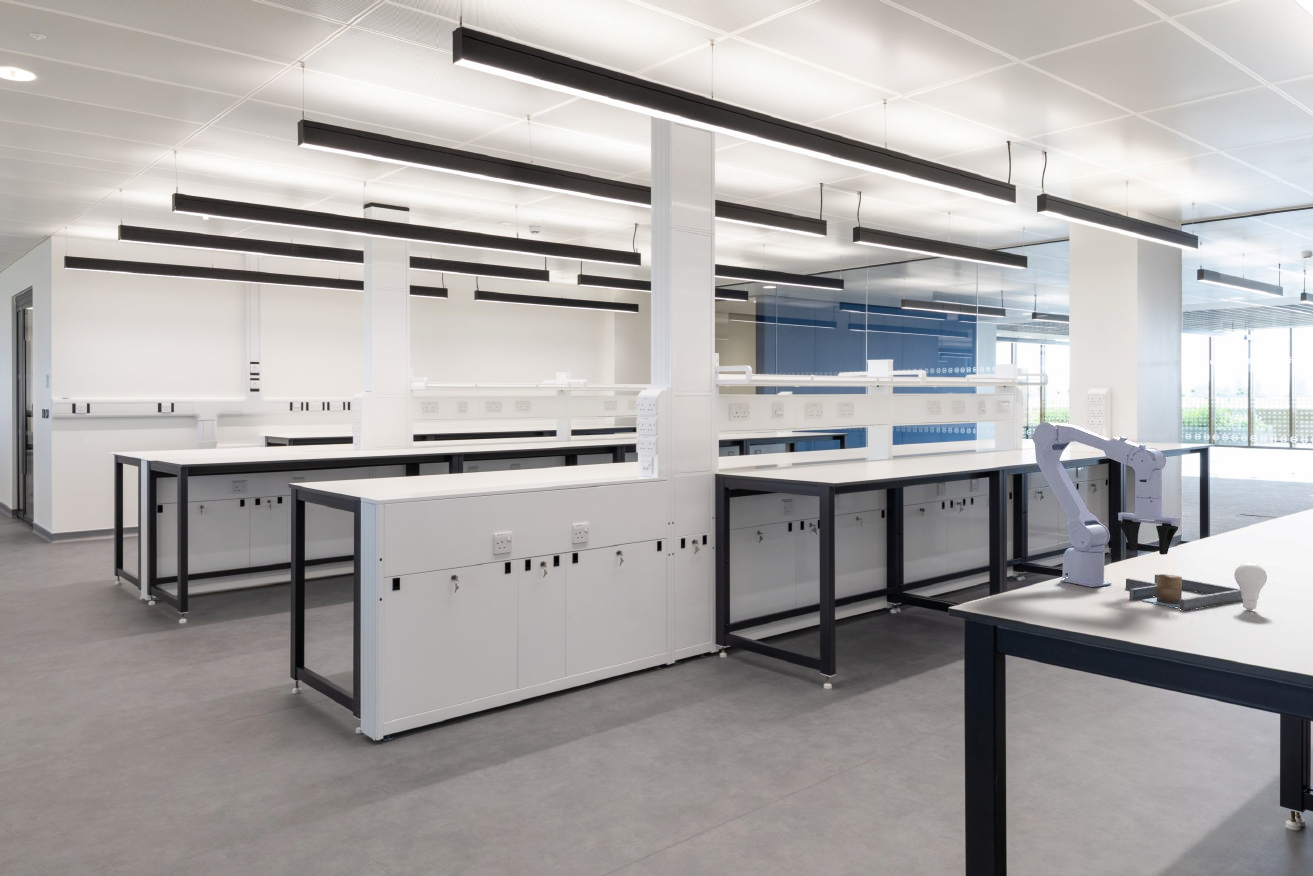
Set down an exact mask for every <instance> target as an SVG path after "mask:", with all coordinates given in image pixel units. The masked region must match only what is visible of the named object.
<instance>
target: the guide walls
mask: <svg viewBox="0 0 1313 876" xmlns="http://www.w3.org/2000/svg"><path fill="white" fill-rule="evenodd" d="M1157 575H1159V574H1154V582H1150V581H1144V580H1139V579H1134V578H1130V577H1129V578H1125V589H1127V588H1128V589H1127V590H1129V593H1128V594H1129V597H1128V598H1129V600H1131V601H1137V599H1138V600H1144V599H1150V597H1151V598H1154V597H1153V596H1157ZM1183 589H1187V590H1186V591H1188V590H1191V591H1190V592H1194V591H1197V592H1196V593H1199V592H1203V593H1202V594H1203V595H1197V596H1192V597H1185V598H1181V599H1180V607H1179V610H1180V609H1181V610H1180V611H1182V610H1186V611H1190V610H1189V609H1192V610H1196V608H1198V609H1202V607H1204V608H1208V607H1207V606H1209V607H1214V605H1215V606H1220V604H1221V605H1226V604H1230V603H1231V604H1232V603H1237V601H1238V602H1243V598H1242V595H1241V590H1240V588H1235V587H1230V586H1226V585H1219V584H1214V583H1213V584H1212V583H1208V582H1202V581H1198V580H1190V579H1185V578H1182V590H1183ZM1204 593H1208V594H1204ZM1143 598H1144V599H1143Z"/></svg>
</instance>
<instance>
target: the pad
mask: <svg viewBox="0 0 1313 876" xmlns="http://www.w3.org/2000/svg"><path fill="white" fill-rule="evenodd" d="M1144 601H1146V602H1145V603H1149V602H1150V604H1153V603H1156V604H1155V605H1158V604H1161V605H1160V606H1163V605H1166V606H1165V607H1168V606H1171V607H1170V608H1173V607H1179V608H1180V604H1168V603H1162V602H1158V601H1157V597H1151V598H1144V599H1141V602H1144Z"/></svg>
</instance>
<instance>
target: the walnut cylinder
mask: <svg viewBox="0 0 1313 876" xmlns="http://www.w3.org/2000/svg"><path fill="white" fill-rule="evenodd" d="M1182 579H1183V577H1182V576H1180V575H1174V574H1163V573H1161V574H1158V575H1157V597H1156V598H1157V601H1158V602H1162V603H1168V604H1180V599H1183V598H1182V594H1183V593H1182V591H1183V589H1182Z"/></svg>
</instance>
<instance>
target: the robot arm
mask: <svg viewBox="0 0 1313 876" xmlns="http://www.w3.org/2000/svg"><path fill="white" fill-rule="evenodd" d="M1031 440H1032V441H1033V443H1034V449H1035V450H1034V451H1035V453H1034V454H1035V461H1036V464H1037V466H1038V467H1039V469H1040V471H1041V474H1043V476H1044V478H1045V480H1046V482H1047V484H1048V485H1049V488H1050V489H1051V491H1052V493H1053V494H1054V496H1055V499H1056V500H1057V502H1058V504H1059V506H1060V507H1061V509H1062V511H1063V512H1064V514H1065V515H1064V516H1066V518H1067V522H1066V525H1065V528H1066V529H1067V532H1068V538H1069V543H1070V544H1071V545H1072V546H1073V547H1068V548H1067V549H1066V550H1065V551H1064V552H1063V555H1062V579H1063V578H1065V579H1064V580H1061V579H1060V581H1061V582H1067V583H1070V584H1075V585H1079V586H1084V587H1091V588H1096V587H1102V586H1103V587H1104V586H1110V585H1112V582H1110V581H1105V556H1106V555H1105V553H1106V551H1105V550H1106V545H1108V543H1109V541H1110V538H1111V534H1110V531H1109V529H1108V528H1107V526H1105V525H1104V524H1102V522H1100V520H1099V519H1098V517H1097V516H1096V515H1094V513H1092V512H1090V511H1089V510H1088V508H1087V506H1086V504H1085V502H1084V501H1083V499H1082V497H1081V495H1080V494H1079V492H1078V490H1077V489H1076V487H1075V485H1074V483H1073V482H1072V479H1071V478H1070V476H1069V474H1068V472H1067V470H1066V469H1065V467H1064V465H1063V464H1062V462H1061V456H1062V455H1063V452H1064V451H1065V450H1066V448H1067V447H1068V446H1069V445H1070V443H1071V442H1072V443H1073V442H1076V443H1080V444H1083V445H1086V446H1088V447H1092V448H1094V449H1098V450H1100V451H1103V453H1104V454H1105V456H1106V458H1108V459H1111V460H1113V461H1116V462H1118V463H1120V464H1124V465H1126V466H1128V467H1131V468H1132V469H1133V470H1134V472H1135V473H1134V477H1135V478H1134V483H1135V484H1134V487H1135V489H1134V490H1135V491H1134V496H1135V497H1134V513H1133V512H1123V511H1122V512H1118V513H1117V515H1118V521H1121V522H1119V527H1120V528H1121V530H1122V531H1123V533H1124V536H1125V538H1126V541H1127V544H1128V549H1129V551H1138V546H1139V532H1140V527H1141V524H1142V523H1146V524H1156V526H1155V528H1156V531H1157V537H1158V550H1159V551H1158V552H1159V555H1167V554H1168V552H1169V549H1170V545H1171V543H1172V541H1173V539H1174V536H1175V535H1176V533H1177V531H1178V530H1179V526H1181V518H1180V517H1176V516H1169V515H1162V514H1163V513H1162V511H1163V509H1162V508H1163V507H1162V505H1163V501H1162V500H1163V499H1162V498H1163V491H1162V490H1163V488H1162V487H1163V486H1162V485H1163V479H1162V478H1163V477H1162V474H1163V470H1164V468H1165V466H1166V463H1167V458H1166V455H1165V453H1164V452H1163V451H1160V450H1159V449H1158V448H1156V447H1155V448H1152V447H1151V448H1147V447H1146V444H1144V443H1139V444H1137V443H1135V442H1132V441H1130V440H1128V437H1126V436H1120V437H1119V436H1114V437H1112V438H1111V439H1109V438H1108V437H1105V436H1102V435H1100V434H1097V433H1096V432H1095V433H1094V432H1093V431H1091V430H1088V429H1086V428H1083V427H1081V426H1078V425H1075V424H1072V423H1071V424H1070V423H1067V422H1062V421H1061V422H1048V421H1047V422H1046V421H1045V422H1041V423H1039V424H1038V425H1037V426H1036V427H1035V429H1034V431H1033V434H1032V436H1031ZM1066 577H1068V578H1066Z"/></svg>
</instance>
